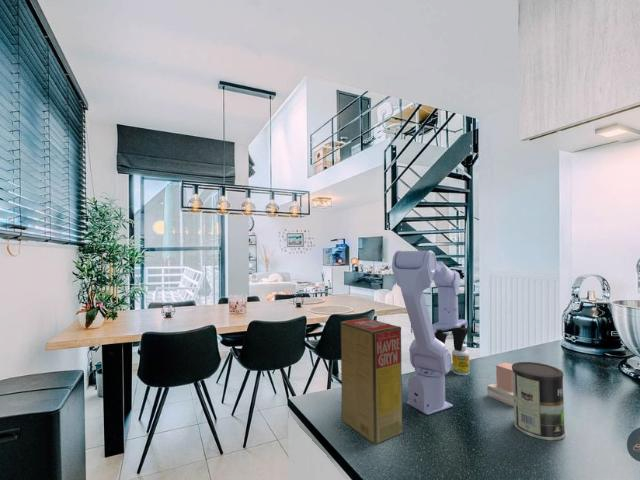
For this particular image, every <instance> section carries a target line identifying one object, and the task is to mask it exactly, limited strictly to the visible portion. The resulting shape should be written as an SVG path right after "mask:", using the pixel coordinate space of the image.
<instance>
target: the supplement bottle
mask: <svg viewBox="0 0 640 480" xmlns="http://www.w3.org/2000/svg"><path fill="white" fill-rule="evenodd" d="M467 346H468V345H467V344H466V343H463V346H462V350H461V351H457V350H455V349H453V350H452V352H451V354H452V355H451V363H452V372H453V373H454V374H456V375H459V376H468V375H470V371H471V370H470V353H469V351H468V350H467V348H468V347H467Z"/></svg>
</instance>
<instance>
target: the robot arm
mask: <svg viewBox="0 0 640 480" xmlns="http://www.w3.org/2000/svg"><path fill="white" fill-rule="evenodd" d="M391 269H392V274H393V277H394V280H395V283H396V285H397V286H398V288H400V291H401V295H402V297H403V302H404V305H405V308H406V312H407V316H408V319H409V322H410V326H411V330H412V332H413V333H412V334H413V336H414V339H413V340H412V341H411V343H410V346H409V349H408V351H409V363H410V364H411V366H412V367H413V368H414V372H415V374H414V375H412V376H410V377H409V379H408V400H407V401H406V404H408V405H409V406H411V407H413V408H414V409H417V410H418V411H420V412H422V413H423V414H425V415H427V416H428V415H432V414H435V413H437V412H441V411H444V410H447V409H450V408H452V407H453V404H452V403H450V402H449V401H446V384H445V383H446V380H445V379H446V378H445V375H448V373H449V372H450V370H451V367H452V355H451V353H450V352H449V350H448V348H447V345H446V340H447V336H448V334H447V333H445V332H443V331H446V330H450V331H451V333H452V339H453V341H452V342H453V348H454V349H455V350H457V351H461V350H462V346H463V344H464V342H465V339H466V336H467V335H468V333H469V331H470V330H469V329H470V328H468V320H466V319H463V318H460V319H459V297H458V295H459V293H460V287H461V286H460V284H461V275H460V273H459V272H458V271H456V270H455V269H452V270H451V269H450V267H448V266H447V265H446V264H445V263H444V262H443V261H442V260H441V261H440V260H438V261H437V256H436V254H435V252H434V251H433V250H431V249H430V250H429V249H428V250H396V251H395V253H394V254H393V256H392V262H391ZM432 282H433V283H434V286H435V288H437V295H438V296H437V298H438V301H437V303H438V304H437V305H438V306H437V307H438V321H437V322H435V323H433V324H432V321H431V317H430V316H431V315H430V312H429V308H428V306H427V302H426V297H425V293H424V291H426V290H427V289H429V288H431V285H432ZM454 349H453V350H454Z"/></svg>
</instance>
